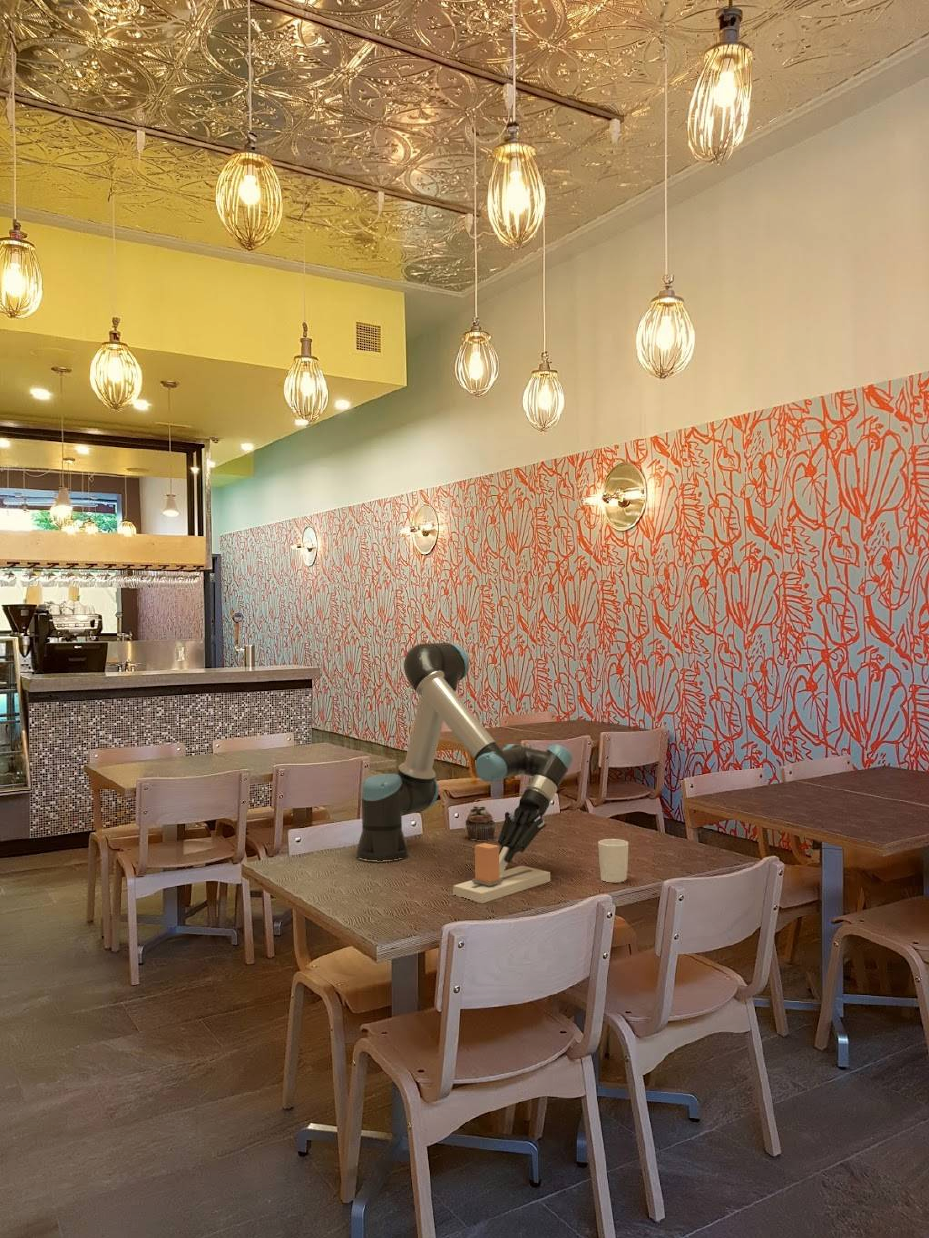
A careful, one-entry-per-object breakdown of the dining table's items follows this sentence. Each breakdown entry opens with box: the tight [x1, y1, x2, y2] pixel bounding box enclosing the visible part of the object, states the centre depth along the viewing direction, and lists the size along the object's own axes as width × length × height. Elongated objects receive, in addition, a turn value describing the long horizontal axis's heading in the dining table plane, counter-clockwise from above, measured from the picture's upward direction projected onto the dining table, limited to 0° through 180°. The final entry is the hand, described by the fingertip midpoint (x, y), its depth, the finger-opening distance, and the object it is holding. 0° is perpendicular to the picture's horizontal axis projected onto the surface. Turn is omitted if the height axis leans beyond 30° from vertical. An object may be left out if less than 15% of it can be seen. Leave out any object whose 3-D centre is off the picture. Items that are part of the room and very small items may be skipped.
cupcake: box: [465, 805, 497, 840], centre depth 287 cm, size 10×10×10 cm
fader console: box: [452, 865, 551, 904], centre depth 231 cm, size 26×10×2 cm, turn 135°
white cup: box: [597, 838, 629, 883], centre depth 237 cm, size 8×8×10 cm
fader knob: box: [471, 842, 503, 886], centre depth 227 cm, size 5×6×9 cm
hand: (496, 871), depth 229 cm, fingers closed
